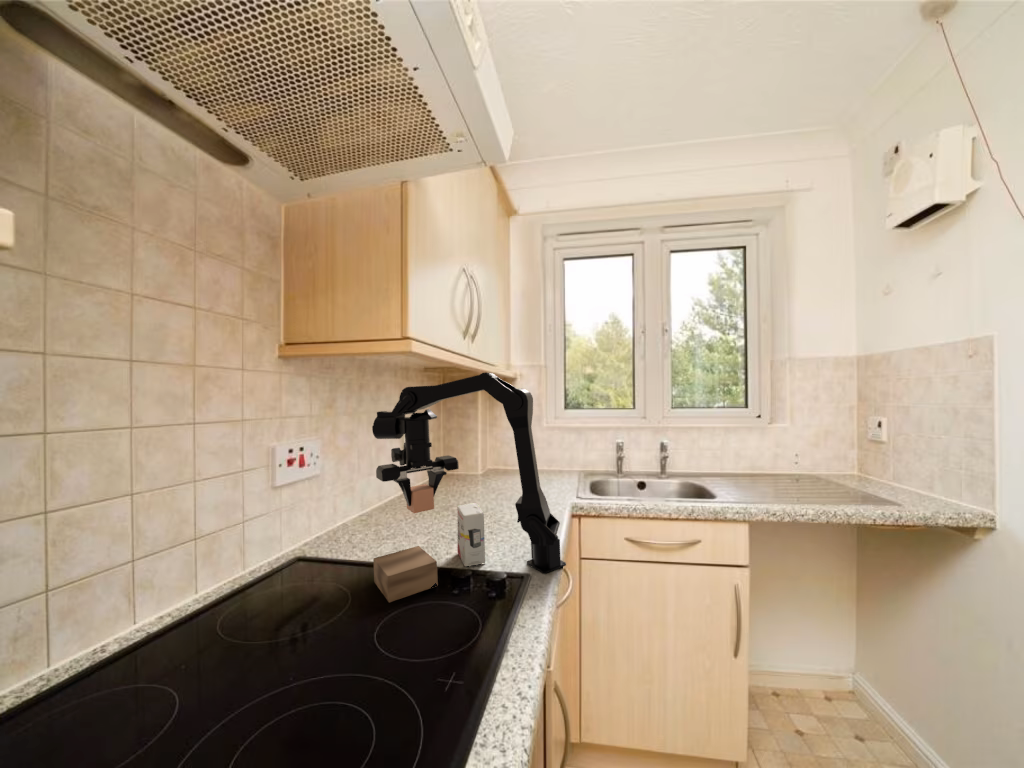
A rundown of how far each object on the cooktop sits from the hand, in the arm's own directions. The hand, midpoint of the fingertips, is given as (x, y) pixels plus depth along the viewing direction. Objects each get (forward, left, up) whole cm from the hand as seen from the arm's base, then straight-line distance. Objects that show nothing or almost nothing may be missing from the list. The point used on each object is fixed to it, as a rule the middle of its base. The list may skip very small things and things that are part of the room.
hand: (420, 503), depth 95 cm
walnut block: (-10, +8, -13) cm, 18 cm away
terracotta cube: (0, 0, -1) cm, 1 cm away
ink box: (-8, -9, -13) cm, 18 cm away
